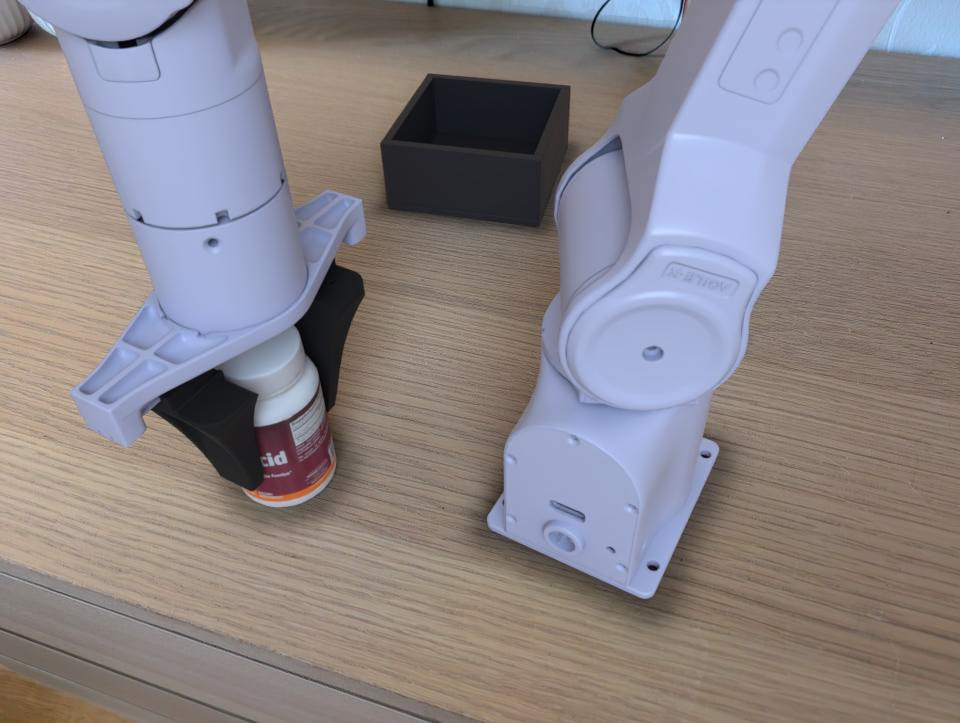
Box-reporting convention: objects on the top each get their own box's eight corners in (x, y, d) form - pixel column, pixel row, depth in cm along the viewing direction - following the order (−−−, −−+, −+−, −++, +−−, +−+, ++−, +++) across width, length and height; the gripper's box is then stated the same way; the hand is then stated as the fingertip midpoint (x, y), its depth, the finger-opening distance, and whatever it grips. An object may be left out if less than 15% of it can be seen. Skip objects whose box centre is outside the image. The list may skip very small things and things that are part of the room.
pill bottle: (220, 493, 39) (169, 366, 33) (275, 424, 42) (237, 297, 36) (305, 523, 38) (267, 397, 32) (355, 449, 41) (329, 322, 35)
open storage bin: (539, 227, 54) (541, 160, 51) (387, 208, 57) (379, 143, 53) (567, 148, 62) (570, 85, 58) (432, 134, 64) (427, 72, 61)
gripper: (254, 81, 35) (308, 322, 44) (-50, 263, 26) (100, 516, 35) (391, 115, 32) (418, 364, 42) (106, 331, 23) (223, 586, 33)
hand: (280, 437), depth 38 cm, fingers closed on pill bottle, 5 cm apart
